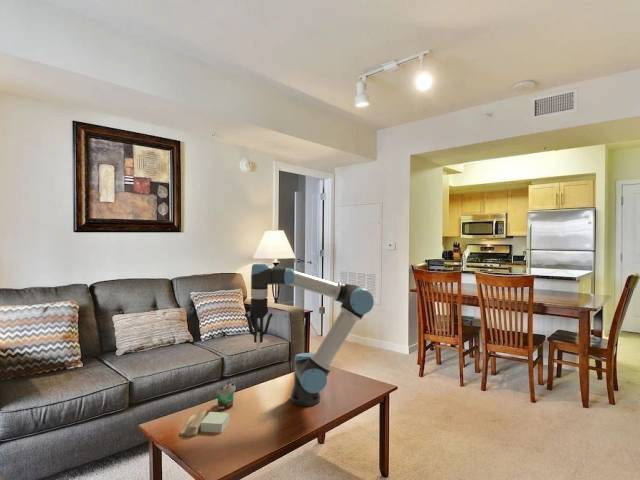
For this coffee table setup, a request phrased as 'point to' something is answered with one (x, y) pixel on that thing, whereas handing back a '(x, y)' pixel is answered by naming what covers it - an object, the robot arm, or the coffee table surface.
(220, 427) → the block
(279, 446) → the coffee table surface
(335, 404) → the coffee table surface
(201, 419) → the beige ridged bar
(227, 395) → the food container
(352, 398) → the coffee table surface
